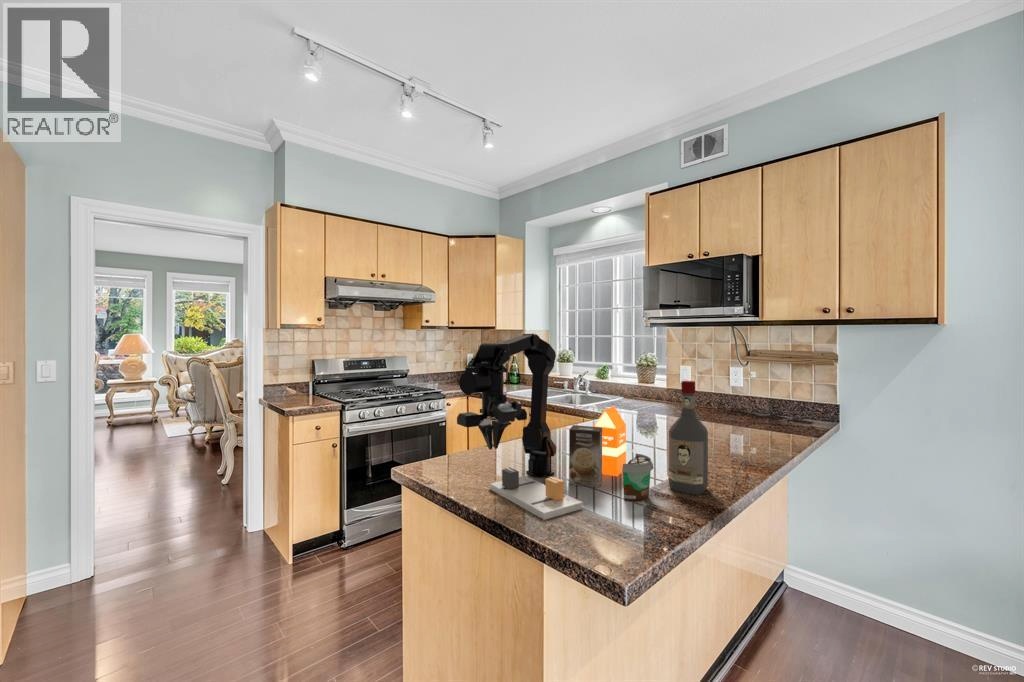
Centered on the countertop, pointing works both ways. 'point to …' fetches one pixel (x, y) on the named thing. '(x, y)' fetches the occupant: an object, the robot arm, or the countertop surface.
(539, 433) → the robot arm
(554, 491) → the orange fader
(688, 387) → the liquor
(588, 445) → the coffee box
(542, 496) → the panel
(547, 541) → the countertop surface
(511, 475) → the block
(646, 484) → the food container
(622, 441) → the orange juice
